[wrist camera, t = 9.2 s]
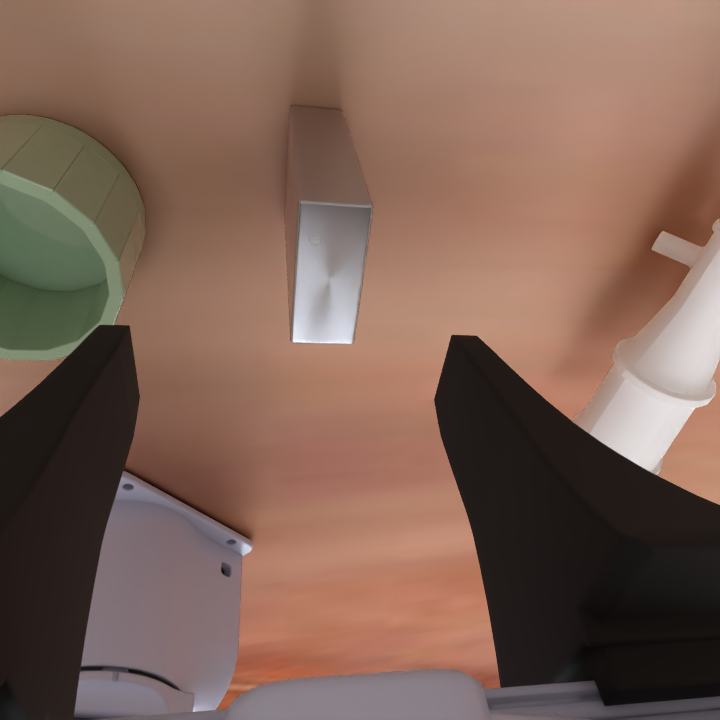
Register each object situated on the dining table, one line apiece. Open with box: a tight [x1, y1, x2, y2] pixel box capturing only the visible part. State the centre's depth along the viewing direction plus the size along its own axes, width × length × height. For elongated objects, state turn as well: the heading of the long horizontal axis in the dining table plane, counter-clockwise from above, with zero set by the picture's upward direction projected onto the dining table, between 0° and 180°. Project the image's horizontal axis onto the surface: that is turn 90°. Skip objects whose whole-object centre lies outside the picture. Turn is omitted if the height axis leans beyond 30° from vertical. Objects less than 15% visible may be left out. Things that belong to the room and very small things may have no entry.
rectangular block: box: [285, 106, 373, 344], centre depth 18 cm, size 2×4×8 cm, turn 173°
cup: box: [0, 115, 146, 361], centre depth 19 cm, size 6×6×4 cm
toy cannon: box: [571, 219, 720, 475], centre depth 23 cm, size 8×14×5 cm
